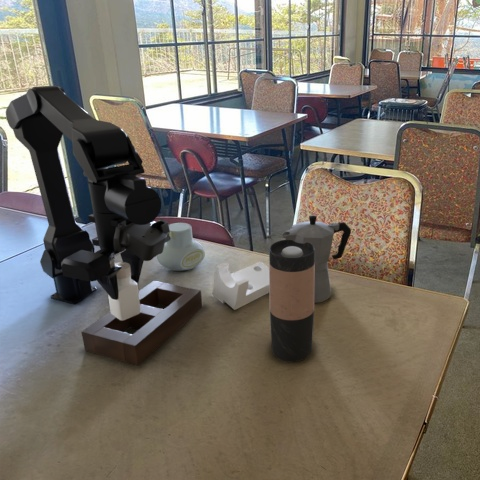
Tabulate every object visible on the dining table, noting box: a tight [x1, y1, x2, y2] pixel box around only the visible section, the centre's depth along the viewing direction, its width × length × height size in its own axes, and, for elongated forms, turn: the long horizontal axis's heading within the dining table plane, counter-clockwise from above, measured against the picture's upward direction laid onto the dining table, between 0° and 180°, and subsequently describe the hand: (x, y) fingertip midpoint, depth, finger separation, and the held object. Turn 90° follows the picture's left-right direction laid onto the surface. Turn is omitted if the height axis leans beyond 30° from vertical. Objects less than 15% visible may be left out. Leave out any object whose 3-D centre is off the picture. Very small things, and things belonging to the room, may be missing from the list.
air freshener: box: [156, 222, 206, 272], centre depth 113 cm, size 11×8×10 cm
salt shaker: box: [107, 261, 141, 320], centre depth 83 cm, size 4×4×10 cm
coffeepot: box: [281, 214, 352, 304], centre depth 101 cm, size 15×9×18 cm, turn 113°
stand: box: [81, 280, 203, 366], centre depth 90 cm, size 11×20×4 cm, turn 161°
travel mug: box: [268, 239, 315, 363], centre depth 82 cm, size 8×8×20 cm
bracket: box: [211, 260, 269, 311], centre depth 102 cm, size 13×7×8 cm, turn 139°
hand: (125, 292), depth 83 cm, fingers closed on salt shaker, 5 cm apart
